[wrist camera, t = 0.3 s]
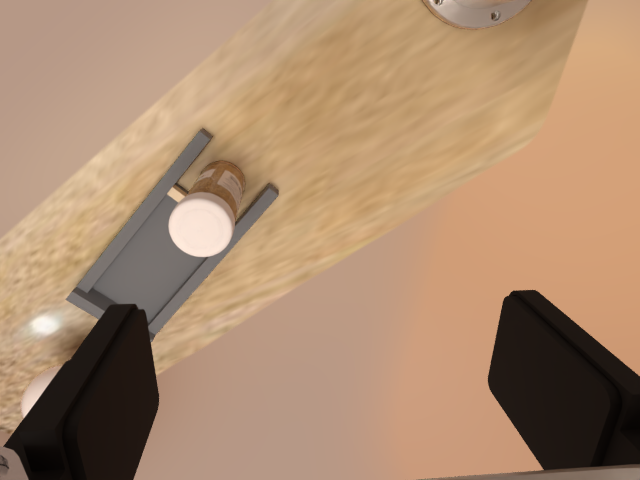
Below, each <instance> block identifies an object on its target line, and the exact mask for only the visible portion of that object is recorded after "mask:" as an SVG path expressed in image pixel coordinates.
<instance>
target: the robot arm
mask: <svg viewBox="0 0 640 480" xmlns="http://www.w3.org/2000/svg"><path fill="white" fill-rule="evenodd" d="M423 2H424V3H425V4H426V6H427V7H428V8H429V9H430V11H431V12H432V13H433V14H435V15H436V16H437V17H438V18H439V19H440V20H442V21H444V22H446V23H448V24H450V25H452V26H455V27H459V28H462V29H482V28H488V27H492V26H496V25H499V24H501V23H503V22H505V21H507V20H509V19H511V18H512V17H514V16H515V15H516V14H518V13H519V12H520V11H521V10H523V9H524V8H525V7H526V6H527V5H528V4H529V3H530V2H531V0H438V3H437V4H435V3H434V0H423ZM491 14H493V19H492V18H491ZM488 384H489V388H490V390H491V392H492V394H493V395H494V397H495V398H496V400H497V401H498V403H499V404H500V406H501V407H502V409H503V410H504V411H505V413H506V414H507V416H508V417H509V419H510V420H511V422H512V423H513V425H514V426H515V428H516V429H517V431H518V432H519V434H520V435H521V437H522V438H523V440H524V441H525V442H526V444H527V445H528V447H529V448H530V450H531V451H532V453H533V454H534V456H535V457H536V459H537V460H538V462H539V463H540V465H541V466H542V468H543V469H544V470H541V471H528V472H513V473H500V474H485V475H472V476H458V477H445V478H432V479H419V480H640V376H638V375H637V374H636V373H635V372H634V371H632V370H631V369H630V368H629V367H628V366H626V365H625V364H624V363H623V362H622V361H620V360H619V359H618V358H617V357H616V356H614V355H613V354H612V353H611V352H610V351H608V350H607V349H606V348H605V347H604V346H602V345H601V344H600V343H599V342H598V341H596V340H595V339H594V338H593V337H592V336H590V335H589V334H588V333H587V332H586V331H584V330H583V329H582V328H581V327H580V326H579V325H577V324H576V323H575V322H574V321H572V320H571V319H570V318H569V317H568V316H567V315H565V314H564V313H563V312H562V311H561V310H559V309H558V308H557V307H556V306H554V305H553V304H552V303H551V302H550V301H549V300H547V299H546V298H545V297H544V296H543V295H541V294H540V293H539V292H537V291H536V290H523V291H521V290H520V291H512V292H511V293H510V295H509V296H507V297H505V298H504V301H503V305H502V310H501V315H500V320H499V325H498V330H497V335H496V340H495V345H494V350H493V355H492V360H491V365H490V370H489V375H488ZM158 405H159V393H158V387H157V380H156V374H155V367H154V361H153V355H152V348H151V342H150V335H149V329H148V323H147V316H146V312H145V310H144V309H138V307H137V305H136V304H112V305H110V306H109V307H108V308H107V309H106V311H105V312H104V313H103V315H102V316H101V318H100V319H99V320H98V322H97V323H96V325H95V326H94V327H93V329H92V330H91V332H90V333H89V334H88V336H87V337H86V339H85V340H84V341H83V343H82V344H81V346H80V347H79V348H78V350H77V351H76V353H75V354H74V355H73V357H72V358H71V359H70V360H69V361H66V362H65V364H64V365H63V366H62V367H61V368H60V370H59V371H58V372H57V374H56V375H55V376H54V378H53V379H52V381H51V382H50V383H49V385H48V386H47V387H46V389H45V390H44V392H43V393H42V394H41V396H40V397H39V398H38V400H37V401H36V403H35V404H34V405H33V407H32V408H31V409H30V411H29V412H28V413H27V415H26V416H25V418H24V419H23V420H22V422H21V423H20V424H19V426H18V427H17V429H16V430H15V431H14V433H13V434H12V435H11V437H10V438H9V440H8V441H7V442H6V444H5V445H4V446H3V447H0V480H133V479H134V476H135V473H136V470H137V468H138V465H139V462H140V459H141V456H142V453H143V450H144V447H145V445H146V442H147V439H148V436H149V433H150V430H151V428H152V425H153V421H154V419H155V416H156V413H157V410H158Z"/></svg>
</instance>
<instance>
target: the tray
mask: <svg viewBox="0 0 640 480" xmlns="http://www.w3.org/2000/svg"><path fill="white" fill-rule="evenodd" d="M212 137H213V136H211V135H210V134H209V133H208V132H207V131H205V130H204V129H203V128H202V129H201V130H200V131H199V132H198V133H197V134H196V136H195V137H194V138H193V140H192V141H191V142H190V143H189V145H188V146H187V147H186V148H185V150H184V151H183V152H182V153H181V155H180V156H179V157H178V159H177V160H176V161H175V162H174V164H173V165H172V166H171V167H170V169H169V170H168V171H167V173H166V174H165V175H164V176H163V178H162V179H161V180H160V181H159V183H158V184H157V185H156V186H155V188H154V189H153V190H152V192H151V193H150V194H149V195H148V197H147V198H146V199H145V200H144V202H143V203H142V204H141V205H140V207H139V208H138V209H137V211H136V212H135V213H134V214H133V216H132V217H131V218H130V219H129V221H128V222H127V223H126V224H125V226H124V227H123V228H122V230H121V231H120V232H119V233H118V235H117V236H116V237H115V238H114V240H113V241H112V242H111V243H110V245H109V246H108V247H107V249H106V250H105V251H104V252H103V254H102V255H101V256H100V257H99V259H98V260H97V261H96V262H95V264H94V265H93V266H92V268H91V269H90V270H89V271H88V273H87V274H86V275H85V276H84V278H83V279H82V280H81V281H80V283H79V284H78V285H77V287H76V288H75V289H74V290H73V291H72V292H71V293H70V295H69V296H68V297H67V298H66V300H67V301H69V302H71V303H72V304H74V305H76V306H77V307H79V308H81V309H82V310H84V311H86V312H87V313H89V314H91V315H92V316H94V317H96V318H97V319H100V318H101V316H102V315H103V313H104V312H105V311H106V309H107V308H108V307H109V306H110V305H112V304H136V305H137V307H138V309H144V310H145V312H146V316H147V323H148V329H149V335H150V342H152V341H153V339H154V337H155V335H156V334H157V333H158V332H159V330H160V329H161V328H162V327H163V326H164V325H165V324H166V322H167V321H168V320H169V319H170V318H171V317H172V316H173V315H174V313H175V312H176V311H177V310H178V309H179V308H180V307H181V305H182V304H183V303H184V302H185V301H186V300H187V299H188V298H189V296H190V295H191V294H192V293H193V292H194V291H195V290H196V288H197V287H198V286H199V285H200V284H201V283H202V282H203V281H204V279H205V278H206V277H207V276H208V275H209V274H210V273H211V271H212V270H213V269H214V268H215V267H216V266H217V265H218V264H219V262H220V261H221V260H222V259H223V258H224V257H225V256H226V254H227V253H228V252H229V251H230V250H231V249H232V248H233V247H234V245H235V244H236V243H237V242H238V241H239V240H240V239H241V237H242V236H243V235H244V234H245V233H246V232H247V231H248V230H249V228H250V227H251V226H252V225H253V224H254V223H255V222H256V220H257V219H258V218H259V217H260V216H261V215H262V214H263V213H264V211H265V210H266V209H267V208H268V207H269V206H270V205H271V203H272V202H273V201H274V200H275V199H276V198H277V197H278V190H277V189H276V188H274V187H273V186H272V185H271V184H270V183H269V184H268V185H267V187H266V188H265V189H264V190H263V191H262V192H261V193H260V195H259V196H258V197H257V198H256V199H255V200H254V202H253V203H252V204H251V205H250V206H249V207H248V208H247V210H246V211H245V212H244V213H243V214H242V215H241V217H240V218H239V219H238V220H237V221H236V222H235V228H234V232H233V235H232V238H231V240H230V242H229V244H228V245H227V247H226V248H225V249H224V250H222V251H221V252H220V253H218V254H216V255H213V256H209V257H196V256H192V255H189V254H187V253H185V252H184V251H182V250H181V249H180V248H178V247H177V246H176V244H175V243H174V242H173V240H172V238H171V236H170V233H169V227H168V224H169V218H170V215H171V213H172V211H173V210H174V208H175V207H176V205H177V204H178V203H179V202H180V201H181V200H182V199H183V198H184V197H186V196H187V195H188V193H189V192H187V191H186V190H185V189H183V188H182V187H181V186H179V185H178V184H177V183H176V182H177V181H178V180H179V179H180V177H181V176H182V175H183V174H184V172H185V171H186V170H187V169H188V167H189V166H190V165H191V164H192V162H193V161H194V160H195V159H196V157H197V156H198V155H199V154H200V152H201V151H202V150H203V149H204V147H205V146H206V145H207V144H208V142H209V141H210V140H211V139H212Z"/></svg>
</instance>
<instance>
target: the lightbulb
mask: <svg viewBox="0 0 640 480" xmlns="http://www.w3.org/2000/svg"><path fill="white" fill-rule="evenodd" d="M68 361H69V360H68ZM64 364H65V363H64ZM64 364H62V365H57V366H54V367H51V368H48V369H46V370H44V371H43V372H41V373H39V374H38V375H37V376H36V377H35V378H33V379H32V381H31V382H30V383H29V384H28V386H27V387H26V389H25V391H24V393H23V396H22V399H21V413H22V416H23V419H24V418H25V416H26V415H27V413H28V412H29V411H30V409H31V408H32V407H33V405H34V404H35V403H36V401H37V400H38V398H39V397H40V396H41V394H42V393H43V392H44V390H45V389H46V387H47V386H48V385H49V383H50V382H51V381H52V379H53V378H54V376H55V375H56V374H57V372H58V371H59V370H60V368H61V367H62V366H63V365H64Z"/></svg>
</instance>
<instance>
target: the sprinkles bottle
mask: <svg viewBox="0 0 640 480" xmlns="http://www.w3.org/2000/svg"><path fill="white" fill-rule="evenodd" d="M244 189H245V180H244V177H243V174H242V173H241V171H240V170H239V169H238V168H237V167H236V166H235V165H233V164H231V163H228V162H225V161H217V162H214V163H211V164H209V165H207V166H206V167H205V168H204V170H203V171H202V173H201V175H200V177H199V178H198V179H197V181H196V182H195V184H194V185H193V187H192V188H191V189H190V191H189V193H188V195H187V196H186V197H184V198H183V199H182V200H181V201H180V202H179V203H178V204H177V205H176V207H175V208H174V210H173V211H172V213H171V215H170V218H169V224H168V227H169V233H170V236H171V238H172V240H173V242H174V243H175V244H176V246H177V247H178V248H180V249H181V250H182V251H184V252H185V253H187V254H189V255H192V256H196V257H209V256H213V255H216V254H218V253H220V252H221V251H222V250H224V249H225V248H226V247H227V245H228V244H229V242H230V240H231V238H232V235H233V232H234V228H235V219H236V216H237V213H238V209H239V205H240V202H241V198H242V194H243V192H244Z"/></svg>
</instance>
